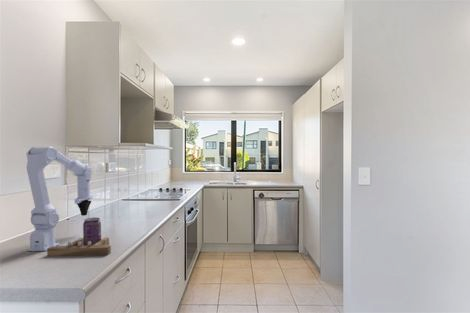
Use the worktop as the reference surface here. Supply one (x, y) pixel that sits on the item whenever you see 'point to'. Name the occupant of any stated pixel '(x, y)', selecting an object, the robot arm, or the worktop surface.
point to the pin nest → (81, 248)
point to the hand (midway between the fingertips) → (84, 215)
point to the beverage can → (91, 231)
